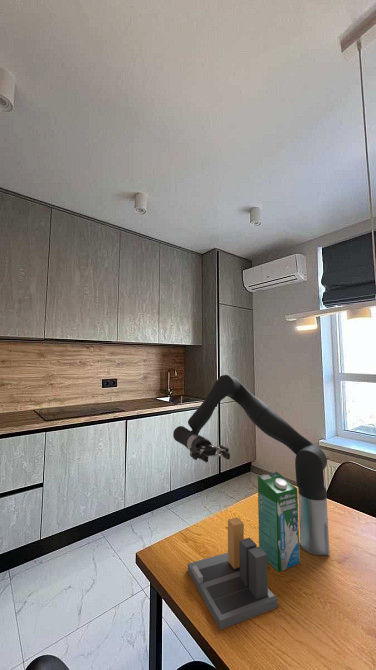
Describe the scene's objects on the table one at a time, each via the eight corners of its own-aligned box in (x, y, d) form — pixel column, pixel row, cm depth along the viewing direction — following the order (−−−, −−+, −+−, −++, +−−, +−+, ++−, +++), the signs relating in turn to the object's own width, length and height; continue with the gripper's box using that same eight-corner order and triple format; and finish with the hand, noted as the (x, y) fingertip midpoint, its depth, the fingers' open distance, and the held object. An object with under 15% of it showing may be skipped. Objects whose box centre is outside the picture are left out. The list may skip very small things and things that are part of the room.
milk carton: (279, 572, 84) (276, 485, 87) (258, 554, 92) (257, 475, 95) (300, 563, 88) (297, 480, 91) (279, 546, 96) (277, 471, 99)
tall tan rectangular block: (237, 558, 86) (237, 517, 88) (244, 565, 83) (243, 523, 84) (228, 561, 85) (227, 519, 86) (234, 568, 82) (233, 525, 83)
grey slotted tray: (235, 556, 90) (235, 517, 92) (277, 607, 72) (276, 557, 73) (187, 570, 84) (187, 528, 85) (220, 630, 65) (220, 574, 67)
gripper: (183, 437, 110) (200, 449, 95) (214, 434, 115) (235, 445, 100) (182, 457, 109) (200, 471, 94) (214, 453, 114) (235, 466, 99)
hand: (218, 458), depth 97 cm, fingers open, 8 cm apart
